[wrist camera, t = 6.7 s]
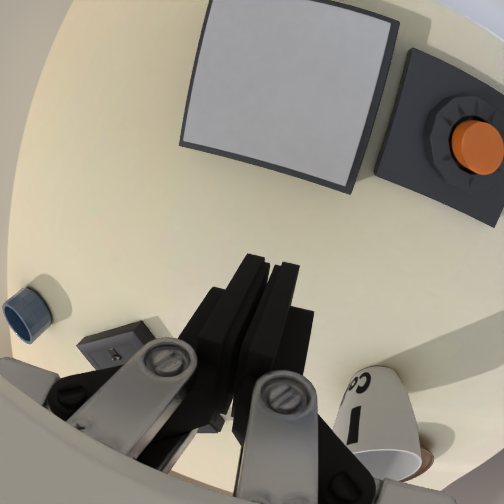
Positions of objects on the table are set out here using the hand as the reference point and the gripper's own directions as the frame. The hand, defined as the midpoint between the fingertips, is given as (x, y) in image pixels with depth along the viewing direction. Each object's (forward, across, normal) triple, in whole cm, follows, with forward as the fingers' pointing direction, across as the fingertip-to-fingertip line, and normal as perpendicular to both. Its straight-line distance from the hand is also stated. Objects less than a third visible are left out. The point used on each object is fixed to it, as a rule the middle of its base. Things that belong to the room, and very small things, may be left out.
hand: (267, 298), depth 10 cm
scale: (+13, +2, -7) cm, 15 cm away
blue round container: (+13, +35, +23) cm, 44 cm away
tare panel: (+13, -10, -6) cm, 17 cm away
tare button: (+10, -10, -6) cm, 15 cm away
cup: (+13, -11, +17) cm, 24 cm away
